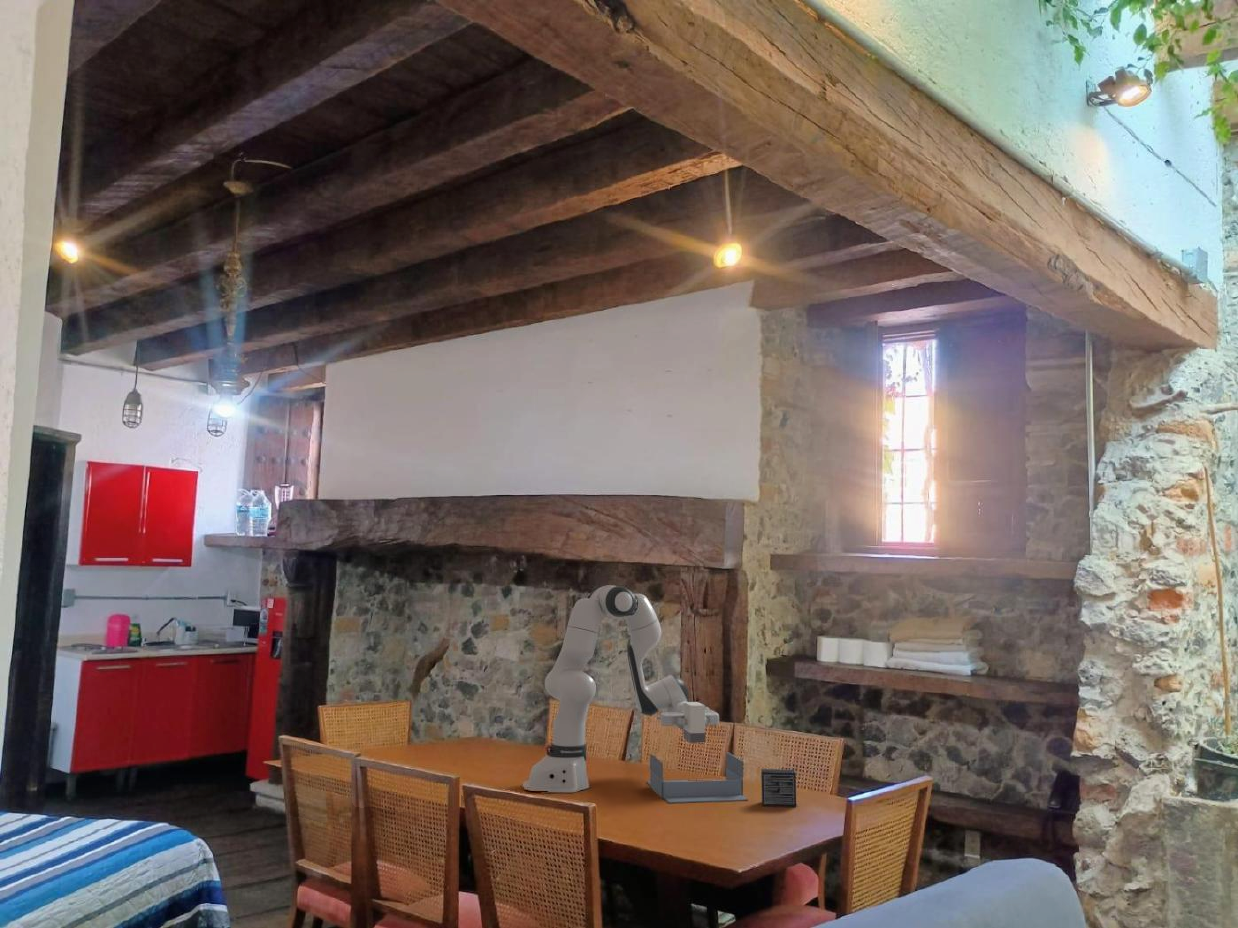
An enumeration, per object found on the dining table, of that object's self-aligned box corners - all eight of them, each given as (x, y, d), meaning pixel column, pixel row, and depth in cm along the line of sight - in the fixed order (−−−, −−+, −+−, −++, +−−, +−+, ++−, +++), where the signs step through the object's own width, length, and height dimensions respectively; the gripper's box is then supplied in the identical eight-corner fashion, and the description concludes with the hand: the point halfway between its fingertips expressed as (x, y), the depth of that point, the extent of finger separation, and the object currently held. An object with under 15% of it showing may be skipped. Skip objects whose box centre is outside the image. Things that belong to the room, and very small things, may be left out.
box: (690, 742, 319) (690, 705, 320) (683, 738, 328) (683, 702, 329) (705, 742, 320) (705, 705, 321) (698, 737, 329) (698, 701, 330)
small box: (795, 802, 306) (794, 768, 307) (796, 807, 299) (796, 772, 300) (761, 801, 307) (761, 767, 308) (762, 806, 300) (762, 771, 301)
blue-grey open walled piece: (666, 803, 303) (666, 767, 304) (644, 782, 334) (644, 749, 335) (750, 800, 308) (750, 764, 309) (721, 779, 339) (721, 747, 340)
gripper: (655, 707, 336) (664, 712, 322) (712, 706, 340) (723, 712, 326) (655, 726, 335) (664, 732, 322) (712, 724, 339) (723, 731, 325)
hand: (694, 722), depth 324 cm, fingers closed on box, 5 cm apart
